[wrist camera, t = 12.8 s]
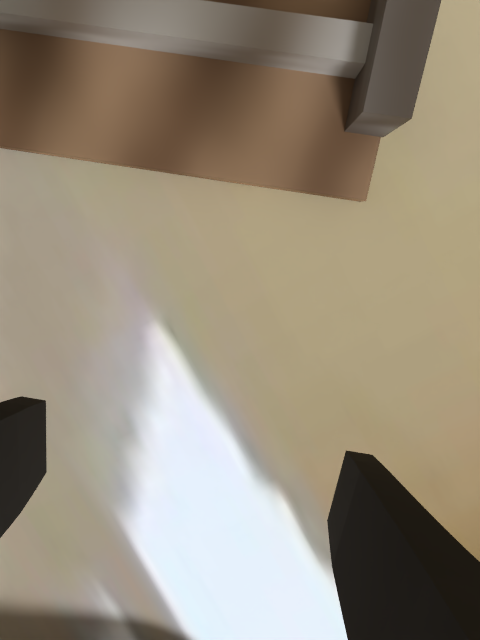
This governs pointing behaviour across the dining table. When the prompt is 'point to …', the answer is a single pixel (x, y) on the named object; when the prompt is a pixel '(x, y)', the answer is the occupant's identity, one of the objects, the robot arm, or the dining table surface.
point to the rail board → (215, 85)
